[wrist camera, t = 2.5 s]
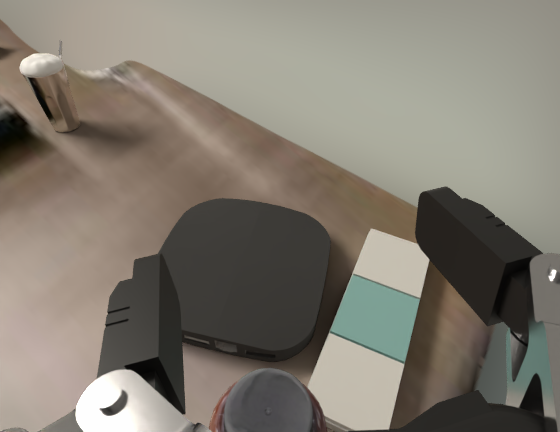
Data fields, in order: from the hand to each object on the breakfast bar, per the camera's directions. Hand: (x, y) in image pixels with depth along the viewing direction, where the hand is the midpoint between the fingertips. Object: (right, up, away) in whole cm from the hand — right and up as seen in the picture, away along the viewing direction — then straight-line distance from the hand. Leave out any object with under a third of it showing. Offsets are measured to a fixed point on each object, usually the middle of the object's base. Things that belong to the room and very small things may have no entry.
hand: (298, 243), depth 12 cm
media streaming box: (-4, -5, +24) cm, 25 cm away
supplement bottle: (-1, -16, +14) cm, 21 cm away
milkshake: (-28, +13, +39) cm, 50 cm away
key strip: (+7, -8, +21) cm, 23 cm away
